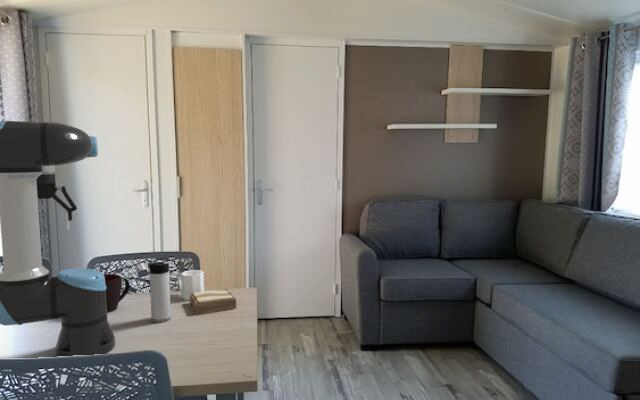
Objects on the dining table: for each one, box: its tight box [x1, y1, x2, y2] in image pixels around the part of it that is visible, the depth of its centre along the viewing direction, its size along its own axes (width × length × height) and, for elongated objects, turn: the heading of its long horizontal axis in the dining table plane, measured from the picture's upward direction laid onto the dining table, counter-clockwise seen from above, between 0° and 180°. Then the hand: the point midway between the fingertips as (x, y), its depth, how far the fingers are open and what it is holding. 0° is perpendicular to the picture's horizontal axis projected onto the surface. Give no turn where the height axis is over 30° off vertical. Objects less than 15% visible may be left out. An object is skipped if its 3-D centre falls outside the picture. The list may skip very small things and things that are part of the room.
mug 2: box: [177, 269, 205, 301], centre depth 174 cm, size 12×9×10 cm
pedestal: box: [189, 288, 237, 316], centre depth 163 cm, size 14×14×4 cm
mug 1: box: [103, 273, 130, 314], centre depth 160 cm, size 10×14×12 cm
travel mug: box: [148, 262, 172, 324], centre depth 149 cm, size 6×7×20 cm
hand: (46, 230), depth 162 cm, fingers open, 13 cm apart
